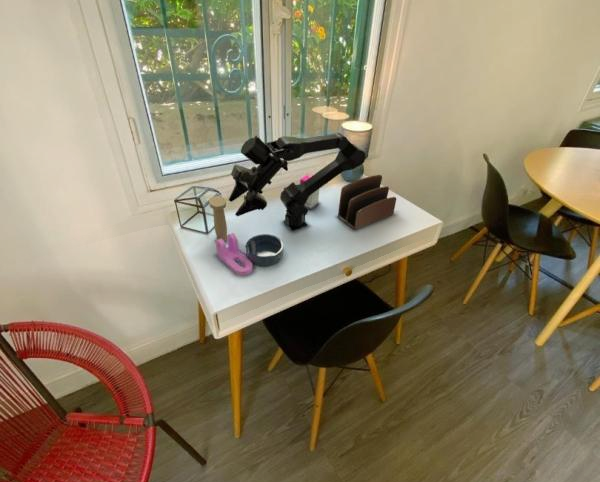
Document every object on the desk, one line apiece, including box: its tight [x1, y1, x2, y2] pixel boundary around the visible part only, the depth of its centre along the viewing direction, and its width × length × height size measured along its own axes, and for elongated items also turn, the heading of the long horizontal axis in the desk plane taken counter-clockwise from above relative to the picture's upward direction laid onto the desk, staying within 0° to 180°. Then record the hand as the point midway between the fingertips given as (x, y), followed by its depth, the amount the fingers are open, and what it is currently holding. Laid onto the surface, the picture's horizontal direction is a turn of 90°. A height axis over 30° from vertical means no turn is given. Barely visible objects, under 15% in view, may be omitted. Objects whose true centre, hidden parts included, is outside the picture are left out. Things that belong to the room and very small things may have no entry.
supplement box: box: [299, 173, 320, 210], centre depth 128 cm, size 6×6×12 cm
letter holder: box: [337, 174, 397, 231], centre depth 122 cm, size 10×20×14 cm, turn 123°
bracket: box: [215, 232, 254, 276], centre depth 100 cm, size 13×6×7 cm, turn 42°
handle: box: [208, 195, 228, 242], centre depth 107 cm, size 5×6×15 cm
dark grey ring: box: [245, 233, 284, 268], centre depth 104 cm, size 12×12×4 cm
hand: (232, 207), depth 106 cm, fingers open, 9 cm apart
